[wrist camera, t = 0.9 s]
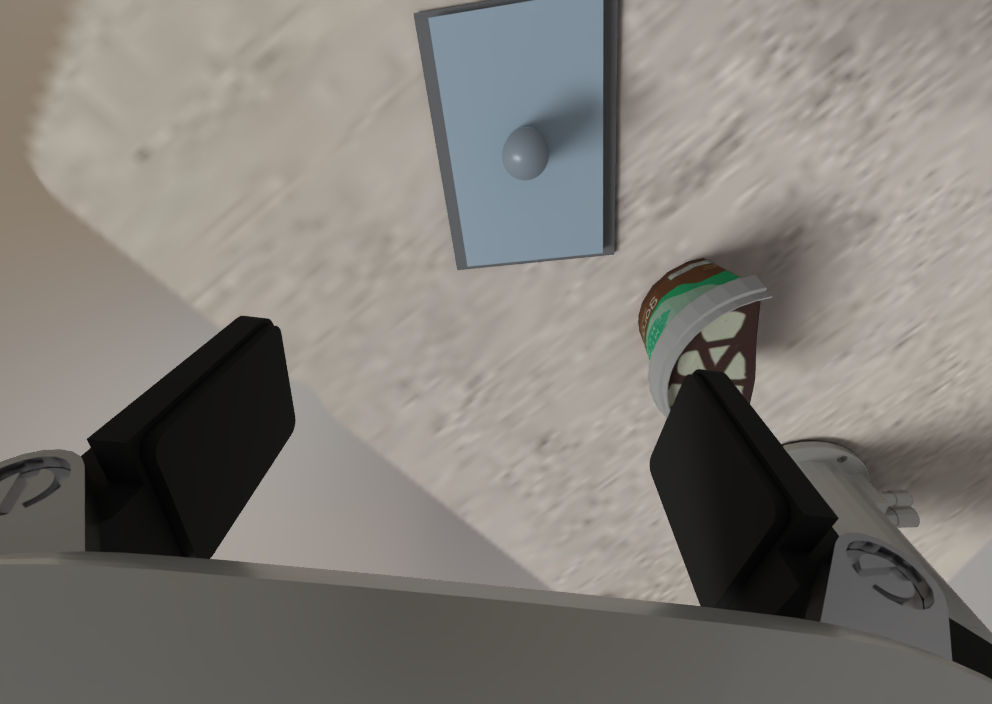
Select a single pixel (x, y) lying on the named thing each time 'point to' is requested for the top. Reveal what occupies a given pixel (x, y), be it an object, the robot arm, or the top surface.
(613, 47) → the mat
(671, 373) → the food container
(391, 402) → the top surface
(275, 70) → the top surface
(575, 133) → the lid
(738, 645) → the robot arm
